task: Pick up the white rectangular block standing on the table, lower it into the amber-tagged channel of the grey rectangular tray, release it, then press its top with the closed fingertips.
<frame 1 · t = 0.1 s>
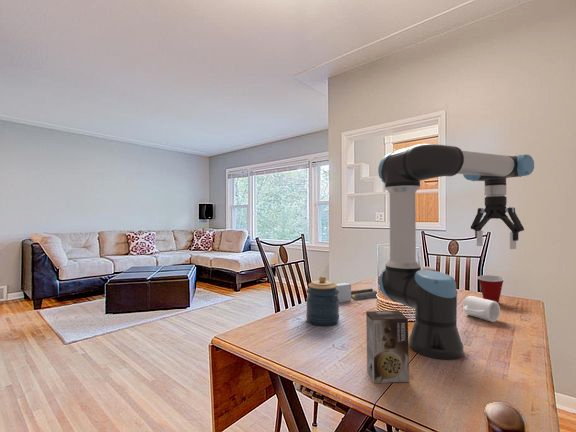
hand: (495, 247, 126), 28 cm above the table, tool pointing down, fingers open, 13 cm apart
canister: (322, 321, 120), on the table
tea box: (417, 296, 155), on the table
plastic cup: (490, 302, 144), on the table
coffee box: (386, 377, 79), on the table
white rectangular block: (341, 300, 148), on the table
grey rectangular tray: (364, 296, 156), on the table
mug: (478, 319, 121), on the table
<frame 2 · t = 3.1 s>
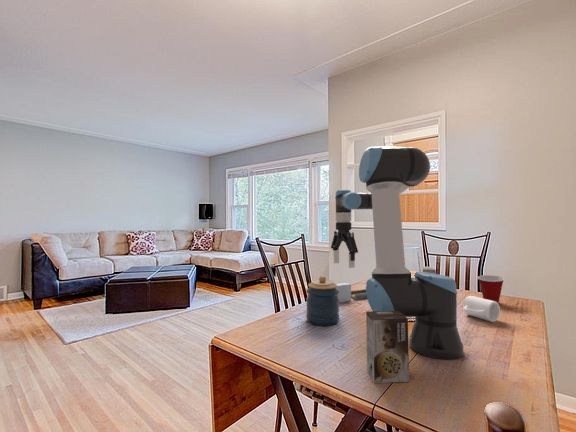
hand: (343, 265, 148), 17 cm above the table, tool pointing down, fingers open, 13 cm apart
nothing on the table moved.
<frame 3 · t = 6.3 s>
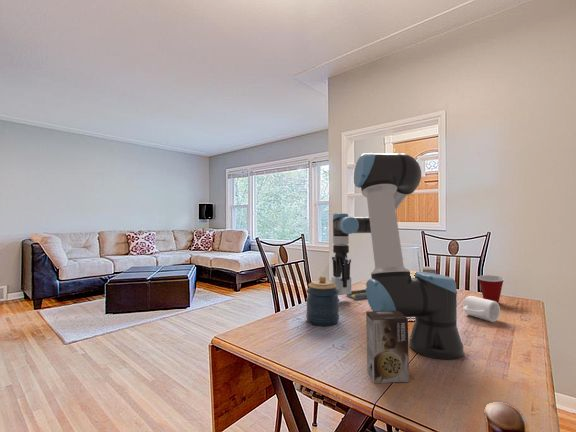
hand: (341, 292, 147), 4 cm above the table, tool pointing down, fingers closed on white rectangular block, 3 cm apart
white rectangular block: (341, 293, 147), point 3 cm above the table, touching gripper
everything else where it was.
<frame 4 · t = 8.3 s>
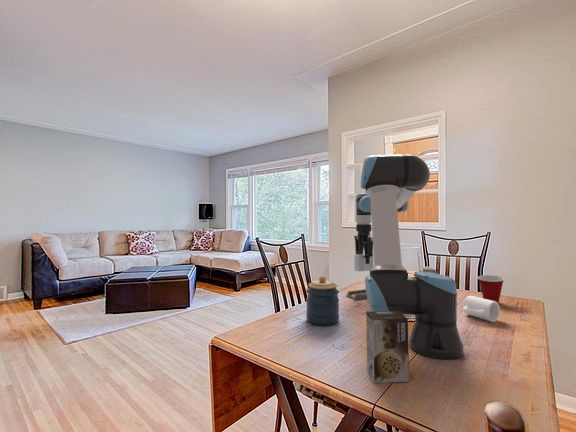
hand: (363, 269, 156), 14 cm above the table, tool pointing down, fingers closed on white rectangular block, 3 cm apart
white rectangular block: (363, 270, 156), point 13 cm above the table, touching gripper
everything else where it was.
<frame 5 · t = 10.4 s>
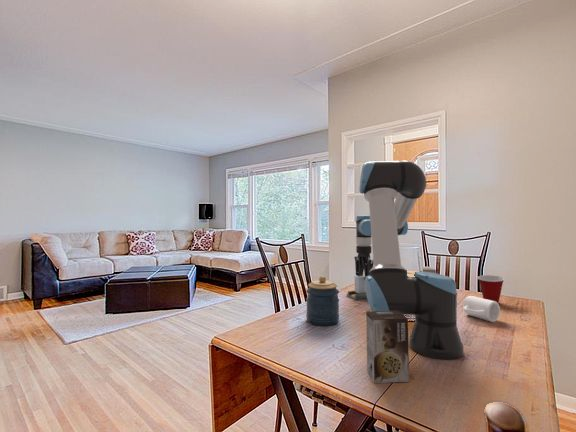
hand: (364, 290, 156), 3 cm above the table, tool pointing down, fingers closed on white rectangular block, grey rectangular tray, 3 cm apart
white rectangular block: (364, 291, 156), point 2 cm above the table, touching gripper
everything else where it was.
when the fingers open (3 cm above the table, at t = 11.5 s): white rectangular block stays where it is, resting on grey rectangular tray.
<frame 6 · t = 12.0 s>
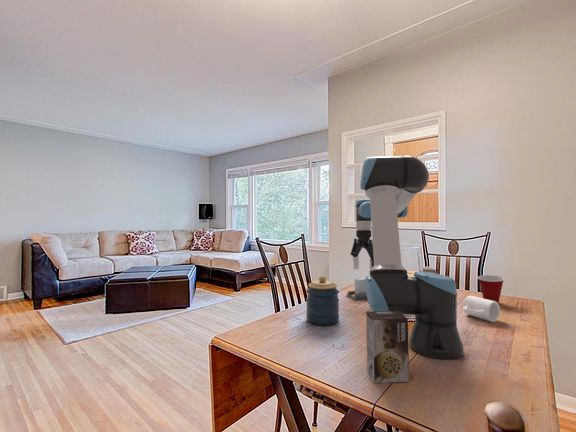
hand: (364, 271, 155), 13 cm above the table, tool pointing down, fingers open, 13 cm apart
white rectangular block: (364, 294, 156), point 1 cm above the table, touching grey rectangular tray
everything else where it was.
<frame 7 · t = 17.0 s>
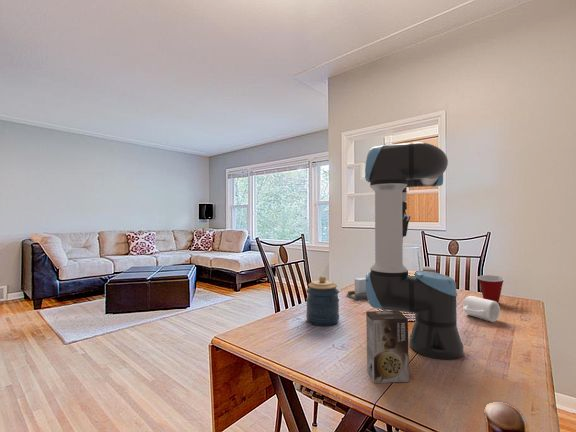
hand: (398, 251, 145), 24 cm above the table, tool pointing down, fingers closed
nothing on the table moved.
at the end: white rectangular block 0.0 cm off-centre on the grey rectangular tray, point 1.1 cm above the grey rectangular tray's base; white rectangular block tilted 0°; the gripper is holding nothing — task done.
